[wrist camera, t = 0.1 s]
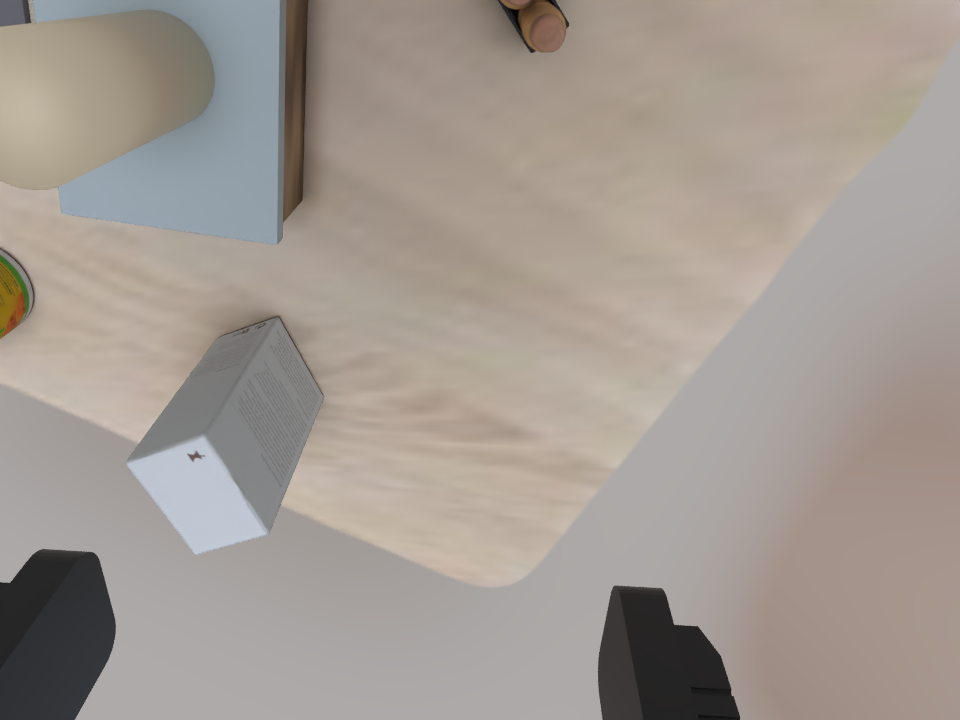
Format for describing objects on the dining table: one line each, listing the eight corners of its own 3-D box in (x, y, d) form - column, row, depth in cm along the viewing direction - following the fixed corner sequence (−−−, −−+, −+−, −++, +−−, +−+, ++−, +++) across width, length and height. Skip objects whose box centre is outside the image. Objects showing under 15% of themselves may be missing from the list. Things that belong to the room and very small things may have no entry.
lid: (27, -149, 27) (-239, -214, 17) (287, -105, 27) (171, -145, 18) (73, 207, 33) (-102, 305, 24) (282, 237, 34) (195, 346, 24)
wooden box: (102, -123, 31) (37, -138, 27) (310, -89, 32) (279, -98, 27) (128, 174, 38) (79, 201, 33) (302, 200, 38) (276, 230, 34)
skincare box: (214, 336, 42) (119, 460, 31) (279, 313, 41) (204, 433, 31) (265, 419, 45) (193, 559, 34) (327, 399, 44) (272, 536, 33)
